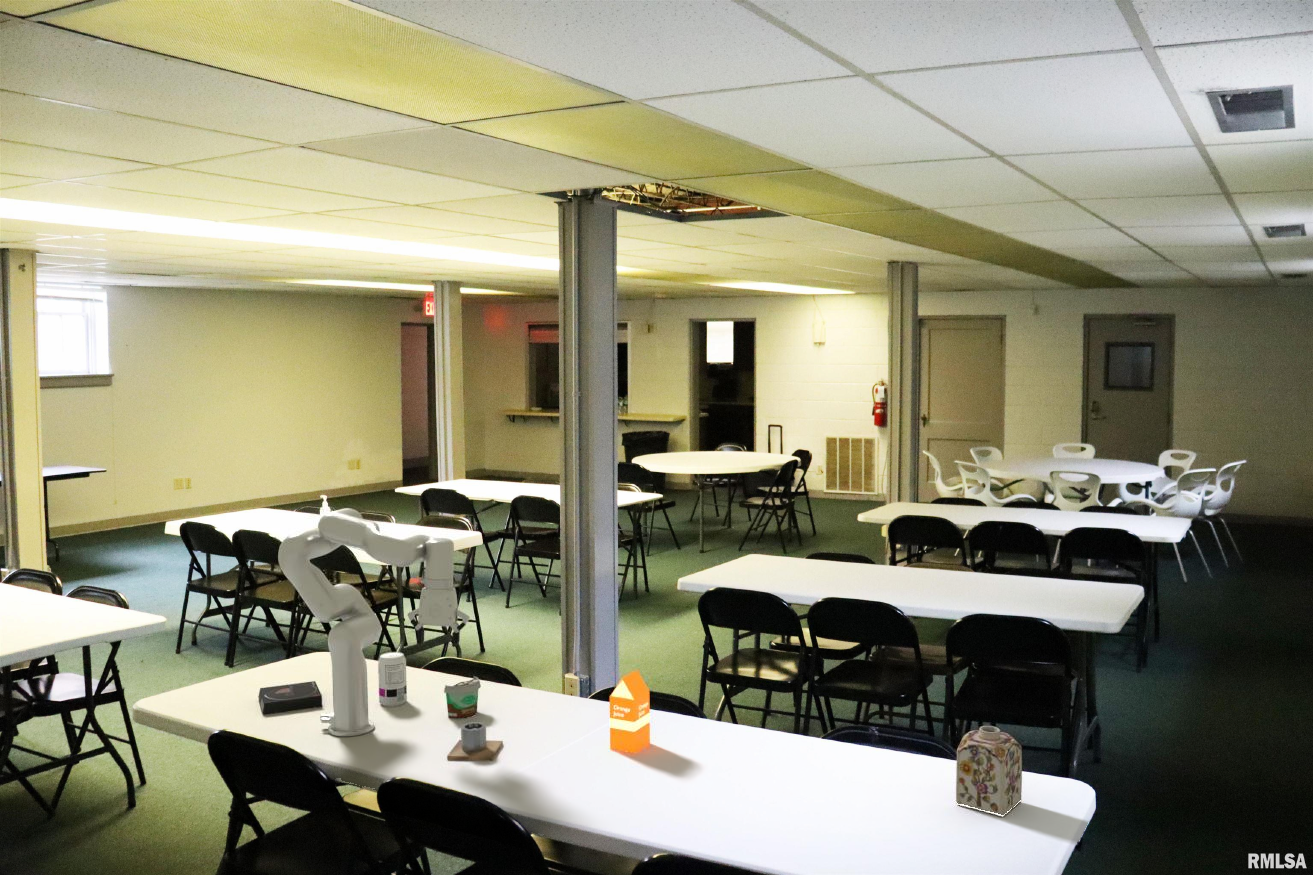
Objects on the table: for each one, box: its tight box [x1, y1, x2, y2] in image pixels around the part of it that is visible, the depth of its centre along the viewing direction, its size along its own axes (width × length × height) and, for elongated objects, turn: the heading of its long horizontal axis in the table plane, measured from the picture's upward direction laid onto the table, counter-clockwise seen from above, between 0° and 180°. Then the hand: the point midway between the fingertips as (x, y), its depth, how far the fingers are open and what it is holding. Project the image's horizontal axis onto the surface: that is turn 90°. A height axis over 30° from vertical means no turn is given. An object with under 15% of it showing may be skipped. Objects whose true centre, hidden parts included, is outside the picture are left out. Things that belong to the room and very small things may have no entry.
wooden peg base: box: [446, 739, 504, 762], centre depth 284 cm, size 12×12×6 cm
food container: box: [443, 675, 482, 720], centre depth 314 cm, size 12×6×10 cm, turn 143°
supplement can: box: [377, 651, 408, 708], centre depth 326 cm, size 8×8×15 cm
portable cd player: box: [258, 680, 323, 716], centre depth 327 cm, size 16×17×4 cm
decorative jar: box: [955, 725, 1023, 815], centre depth 248 cm, size 12×12×18 cm
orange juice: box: [609, 669, 651, 754], centre depth 287 cm, size 8×9×20 cm
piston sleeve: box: [460, 721, 487, 753], centre depth 284 cm, size 6×6×6 cm
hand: (437, 644), depth 293 cm, fingers open, 9 cm apart
